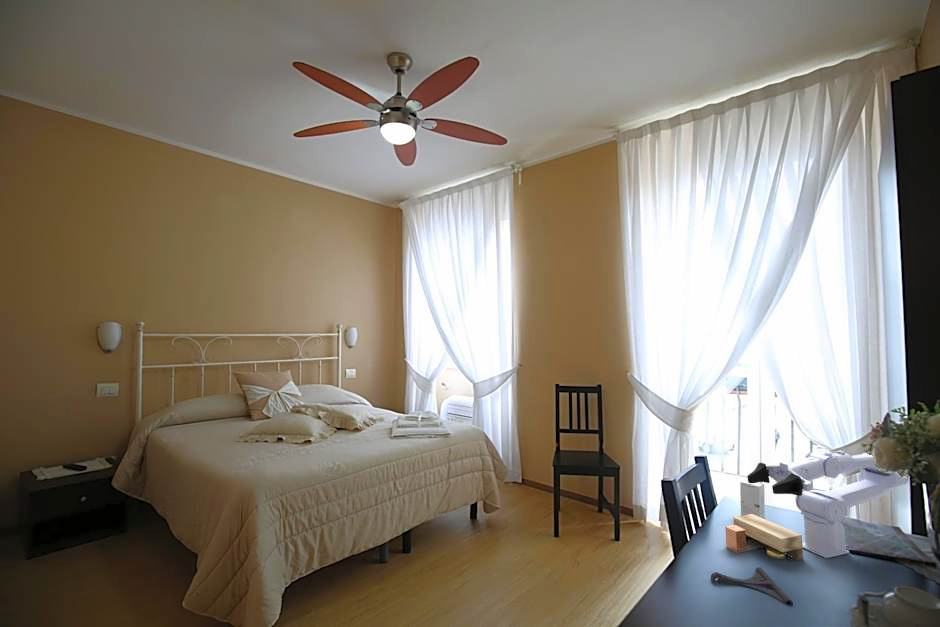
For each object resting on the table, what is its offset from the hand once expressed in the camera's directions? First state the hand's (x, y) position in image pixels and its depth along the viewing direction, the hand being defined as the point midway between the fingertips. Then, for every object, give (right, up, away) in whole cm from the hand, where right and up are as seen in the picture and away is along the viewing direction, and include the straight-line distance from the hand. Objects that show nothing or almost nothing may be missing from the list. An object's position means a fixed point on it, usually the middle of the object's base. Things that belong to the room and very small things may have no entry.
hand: (760, 484), depth 119 cm
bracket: (-13, -21, -12) cm, 27 cm away
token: (+5, -21, +1) cm, 21 cm away
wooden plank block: (+5, -21, +5) cm, 22 cm away
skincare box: (+15, -22, +25) cm, 36 cm away
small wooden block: (0, -21, +6) cm, 22 cm away
